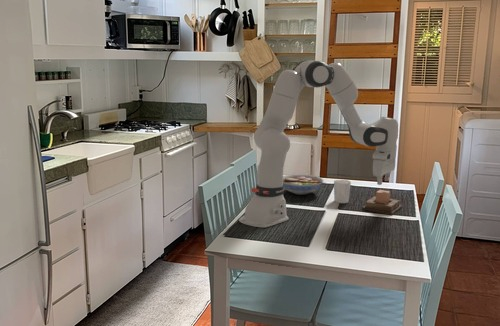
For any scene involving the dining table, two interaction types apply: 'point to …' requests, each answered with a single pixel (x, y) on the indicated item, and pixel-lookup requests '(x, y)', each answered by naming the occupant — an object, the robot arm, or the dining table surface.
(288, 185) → the ramen bowl
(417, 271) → the dining table surface
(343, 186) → the white cup
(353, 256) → the dining table surface
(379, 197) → the terracotta block
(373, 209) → the walnut socket base
